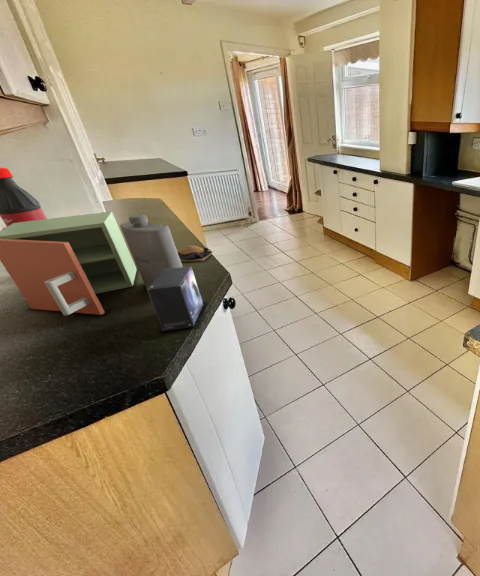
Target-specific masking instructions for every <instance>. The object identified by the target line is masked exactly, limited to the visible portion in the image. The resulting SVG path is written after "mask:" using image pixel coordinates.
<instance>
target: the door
mask: <svg viewBox="0 0 480 576" xmlns="http://www.w3.org/2000/svg"><path fill="white" fill-rule="evenodd" d="M0 262H1V264H2V265H3V267H4V269H5V270H6V272H7V273H8V275H9V277H10V278H11V280H12V281H13V283H14V284H15V286H16V287H17V288H18V290H19V292H20V294H21V295H22V297H23V298H24V300H25V301H26V303H27V305H28V306H29V307H30V309H31V310H43V311H53V312H61V313H62V315H63V316H70V315H71V314H73V313H74V314H75V313H77V314H88V315H100V316H101V315H102V316H103V315H104V314H105V313H106V312H105V310H104V308H103V305H102V304H101V302H100V300H99V298H98V296H97V294H95V292H94V290H93V288H92V286H91V285H90V283H89V281H88V279H87V277H86V275H85V273H84V271H83V269H82V267H81V265H80V263H79V261H78V260H77V258H76V256H75V254H74V252H73V250H72V248H71V246H70V244H69V242H56V241H35V240H15V239H0Z"/></svg>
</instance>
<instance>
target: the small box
mask: <svg viewBox="0 0 480 576" xmlns="http://www.w3.org/2000/svg"><path fill="white" fill-rule="evenodd" d="M146 291H147V295H148V297H149V298H150V301H151V304H152V306H153V309H154V311H155V313H156V316H157V318H158V321H159V324H160V326H161V329H162V332H168V331H174V330H181V329H189V328H193V327H195V325H196V323H197V321H198V318H199V315H200V314H201V311H202V308H203V306H204V302H203V298H202V296H201V291H200V289H199V286H198V283H197V280H196V277H195V273H194V270H193V267H192V266H183V267H181V268H169V269H162V271H161V272H160V273H159V275H158V276H157V277H156V278H155V279H154V281H153V282H152V283H151V284H150V286H149V287H148V288H146Z"/></svg>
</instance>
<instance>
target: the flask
mask: <svg viewBox="0 0 480 576" xmlns="http://www.w3.org/2000/svg"><path fill="white" fill-rule="evenodd" d="M128 220H129V221H125V222H122V223H121V224H119V228H120V231H121V233H122V235H123V238H124V240H125V243H126V245H127V247H128V250H129V252H130V254H131V257H132V259H133V261H134V264H135V266H136V268H137V271H138V273H139V274H140V277H141V280H142V282H143V284H144V286H145V288H146V289H147V288H148V287H149V286H150V284H151V283H152V282H153V281H154V279H155V278H156V277H157V276H158V275H159V273H160V272H161V271H162V269H169V268H181V267H184V266H183V264H182V261H180V258H179V255H178V253H179V252H178V249H177V247H176V244H175V241H174V238H173V236H172V233H171V229H170V226H168V225H165V224H158V223H151V222H149V219H148V217H147V215H145V214H144V213H143V214H142V213H141V214H138V213H137V214H132V215H130V216H129V218H128Z"/></svg>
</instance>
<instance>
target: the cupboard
mask: <svg viewBox="0 0 480 576" xmlns="http://www.w3.org/2000/svg"><path fill="white" fill-rule="evenodd" d="M0 239H15V240H35V241H56V242H69V244H70V246H71V248H72V250H73V252H74V254H75V256H76V258H77V260H78V261H79V263H80V265H81V267H82V269H83V271H84V273H85V275H86V277H87V279H88V281H89V283H90V285H91V286H92V288H93V290H94V292H95V294H96V295H98V294H102V293H108V292H112V291H117V290H123V289H127V288H131V287H133V286H134V283H135V280H136V279H135V278H136V274H137V271H138V268H137V265H136V263H135V261H134V259H133V256H132V254H131V252H130V249H129V247H128V245H127V242H126V240H125V238H124V235H123V233H122V231H121V228H120V226H119V225H118V222H117V220H116V218H115V215H114V213H113V210H112V211H104V212H96V213H95V212H94V213H87V214H80V215H70V216H62V217H53V218H52V217H51V218H47V219H44V220H35V221H27V222H18V223H13V224H11V225H10V226H8V227H7V226H6V227H5V228H4V229H2V230H0Z"/></svg>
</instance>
